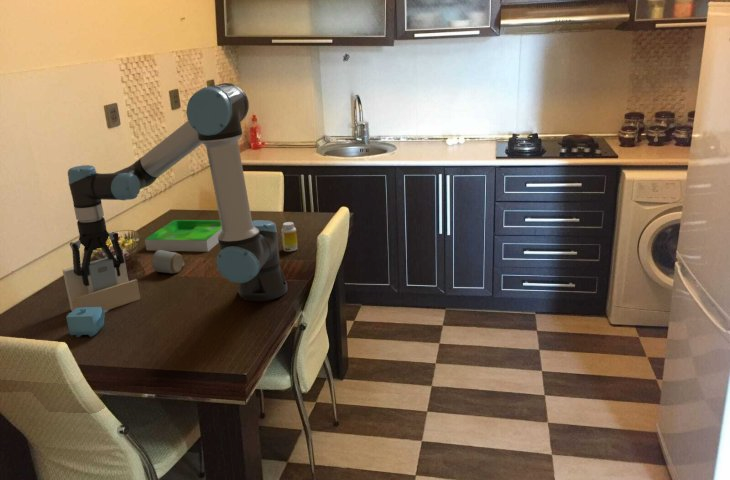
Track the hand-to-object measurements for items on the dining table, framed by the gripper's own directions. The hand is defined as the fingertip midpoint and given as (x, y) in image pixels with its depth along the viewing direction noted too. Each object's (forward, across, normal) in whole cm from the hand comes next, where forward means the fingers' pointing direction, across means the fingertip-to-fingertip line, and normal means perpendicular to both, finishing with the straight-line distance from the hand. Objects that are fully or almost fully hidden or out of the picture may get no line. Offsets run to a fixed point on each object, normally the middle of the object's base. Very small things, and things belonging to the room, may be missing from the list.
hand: (104, 290), depth 190 cm
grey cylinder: (+5, -28, -11) cm, 30 cm away
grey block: (+1, 0, 0) cm, 1 cm away
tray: (+6, -49, -36) cm, 61 cm away
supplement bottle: (+5, -68, +4) cm, 68 cm away
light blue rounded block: (+5, +11, +15) cm, 19 cm away
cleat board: (+5, 0, -1) cm, 5 cm away
